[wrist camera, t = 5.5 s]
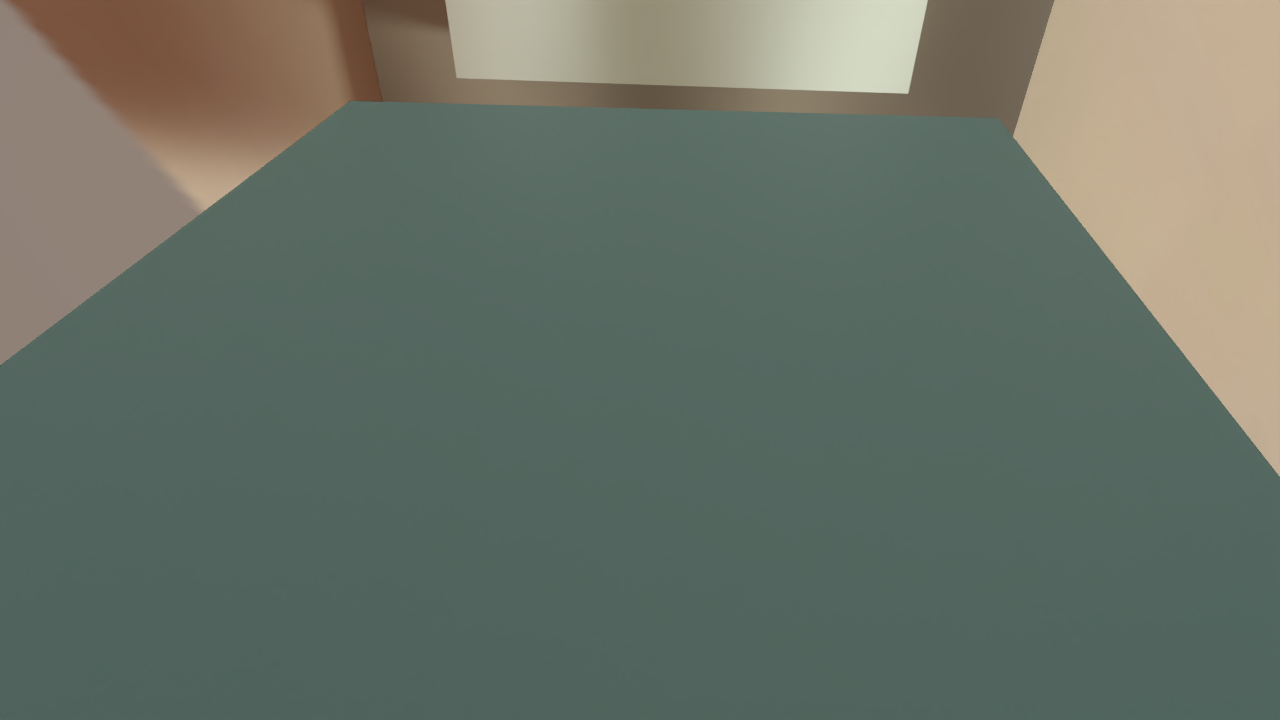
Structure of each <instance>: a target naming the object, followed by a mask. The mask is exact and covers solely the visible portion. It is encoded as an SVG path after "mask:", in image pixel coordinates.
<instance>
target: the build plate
mask: <svg viewBox="0 0 1280 720" xmlns="http://www.w3.org/2000/svg"><path fill="white" fill-rule="evenodd" d="M1053 2H1054V0H362V5H363V10H364V14H365V19H366V24H367V29H368V34H369V39H370V43H371V48H372V53H373V58H374V63H375V68H376V72H377V77H378V82H379V87H380V92H381V97H382V101H383V102H412V103H450V104H487V105H525V106H563V107H601V108H639V109H677V110H715V111H752V112H790V113H828V114H866V115H904V116H942V117H979V118H998V119H999V120H1000V121H1001V122H1002V124H1003V125H1004V126H1005V127H1006V129H1007V130H1008V131H1009V133H1010V134H1011V135H1012V136H1013V134H1014V131H1015V127H1016V124H1017V121H1018V118H1019V114H1020V111H1021V108H1022V104H1023V101H1024V98H1025V95H1026V91H1027V88H1028V85H1029V81H1030V78H1031V75H1032V71H1033V68H1034V65H1035V62H1036V58H1037V55H1038V52H1039V48H1040V45H1041V42H1042V38H1043V35H1044V32H1045V29H1046V25H1047V22H1048V19H1049V15H1050V12H1051V9H1052V6H1053Z"/></svg>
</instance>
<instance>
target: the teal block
mask: <svg viewBox="0 0 1280 720" xmlns="http://www.w3.org/2000/svg"><path fill="white" fill-rule="evenodd" d="M0 720H1280V477H1279V475H1278V474H1277V473H1276V472H1275V470H1274V469H1273V468H1272V466H1271V465H1270V464H1269V463H1268V461H1267V460H1266V459H1265V458H1264V456H1263V455H1262V454H1261V452H1260V451H1259V450H1258V449H1257V447H1256V446H1255V445H1254V443H1253V442H1252V441H1251V440H1250V438H1249V437H1248V436H1247V435H1246V433H1245V432H1244V431H1243V429H1242V428H1241V427H1240V426H1239V424H1238V423H1237V422H1236V421H1235V419H1234V418H1233V417H1232V415H1231V414H1230V413H1229V412H1228V410H1227V409H1226V408H1225V407H1224V405H1223V404H1222V403H1221V401H1220V400H1219V399H1218V398H1217V396H1216V395H1215V394H1214V393H1213V391H1212V390H1211V389H1210V387H1209V386H1208V385H1207V384H1206V382H1205V381H1204V380H1203V378H1202V377H1201V376H1200V375H1199V373H1198V372H1197V371H1196V370H1195V368H1194V367H1193V366H1192V364H1191V363H1190V362H1189V361H1188V359H1187V358H1186V357H1185V356H1184V354H1183V353H1182V352H1181V350H1180V349H1179V348H1178V347H1177V345H1176V344H1175V343H1174V342H1173V340H1172V339H1171V338H1170V336H1169V335H1168V334H1167V333H1166V331H1165V330H1164V329H1163V328H1162V326H1161V325H1160V324H1159V322H1158V321H1157V320H1156V319H1155V317H1154V316H1153V315H1152V313H1151V312H1150V311H1149V310H1148V308H1147V307H1146V306H1145V305H1144V303H1143V302H1142V301H1141V299H1140V298H1139V297H1138V296H1137V294H1136V293H1135V292H1134V291H1133V289H1132V288H1131V287H1130V285H1129V284H1128V283H1127V282H1126V280H1125V279H1124V278H1123V277H1122V275H1121V274H1120V273H1119V271H1118V270H1117V269H1116V268H1115V266H1114V265H1113V264H1112V263H1111V261H1110V260H1109V259H1108V257H1107V256H1106V255H1105V254H1104V252H1103V251H1102V250H1101V249H1100V247H1099V246H1098V245H1097V243H1096V242H1095V241H1094V240H1093V238H1092V237H1091V236H1090V234H1089V233H1088V232H1087V231H1086V229H1085V228H1084V227H1083V226H1082V224H1081V223H1080V222H1079V220H1078V219H1077V218H1076V217H1075V215H1074V214H1073V213H1072V212H1071V210H1070V209H1069V208H1068V206H1067V205H1066V204H1065V203H1064V201H1063V200H1062V199H1061V198H1060V196H1059V195H1058V194H1057V192H1056V191H1055V190H1054V189H1053V187H1052V186H1051V185H1050V184H1049V182H1048V181H1047V180H1046V178H1045V177H1044V176H1043V175H1042V173H1041V172H1040V171H1039V169H1038V168H1037V167H1036V166H1035V164H1034V163H1033V162H1032V161H1031V159H1030V158H1029V157H1028V155H1027V154H1026V153H1025V152H1024V150H1023V149H1022V148H1021V147H1020V145H1019V144H1018V143H1017V141H1016V140H1015V139H1014V138H1013V136H1012V135H1011V134H1010V133H1009V131H1008V130H1007V129H1006V127H1005V126H1004V125H1003V124H1002V122H1001V121H1000V120H999V119H998V118H979V117H942V116H904V115H866V114H828V113H790V112H752V111H715V110H677V109H639V108H601V107H563V106H525V105H487V104H450V103H412V102H374V101H350V102H348V103H347V104H346V105H344V106H343V107H342V108H340V109H339V110H338V111H336V112H335V113H334V114H332V115H331V116H330V117H328V118H327V119H326V120H324V121H323V122H322V123H320V124H319V125H318V126H316V127H315V128H314V129H312V130H311V131H310V132H309V133H307V134H306V135H305V136H303V137H302V138H301V139H299V140H298V141H297V142H295V143H294V144H293V145H291V146H290V147H289V148H287V149H286V150H285V151H283V152H282V153H281V154H279V155H278V156H277V157H275V158H274V159H273V160H271V161H270V162H269V163H267V164H266V165H265V166H264V167H262V168H261V169H260V170H258V171H257V172H256V173H254V174H253V175H252V176H250V177H249V178H248V179H246V180H245V181H244V182H242V183H241V184H240V185H238V186H237V187H236V188H234V189H233V190H232V191H230V192H229V193H228V194H226V195H225V196H224V197H222V198H221V199H220V200H219V201H217V202H216V203H215V204H213V205H212V206H211V207H209V208H208V209H207V210H205V211H204V212H203V213H201V214H200V215H199V216H197V217H196V218H195V219H193V220H192V221H191V222H189V223H188V224H187V225H185V226H184V227H183V228H182V229H180V230H179V231H178V232H176V233H175V234H174V235H172V236H171V237H170V238H168V239H167V240H166V241H164V242H163V243H162V244H160V245H159V246H158V247H156V248H155V249H154V250H152V251H151V252H150V253H148V254H147V255H146V256H144V257H143V258H142V259H140V260H139V261H138V262H137V263H135V264H134V265H132V266H131V267H130V268H129V269H127V270H126V271H125V272H123V273H122V274H121V275H119V276H118V277H117V278H115V279H114V280H113V281H111V282H110V283H109V284H107V285H106V286H105V287H103V288H102V289H101V290H100V291H98V292H97V293H96V294H94V295H93V296H91V297H90V298H89V299H87V300H86V301H85V302H84V303H82V304H81V305H80V306H78V307H77V308H76V309H74V310H73V311H72V312H71V313H69V314H68V315H66V316H65V317H64V318H62V319H61V320H60V321H58V322H57V323H56V324H54V325H53V326H52V327H50V328H49V329H48V330H46V331H45V332H44V333H42V334H41V335H40V336H39V337H37V338H36V339H35V340H33V341H32V342H31V343H29V344H28V345H27V346H25V347H24V348H23V349H21V350H20V351H19V352H18V353H16V354H15V355H13V356H12V357H11V358H10V359H8V360H7V361H5V362H4V363H3V364H1V365H0Z"/></svg>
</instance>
